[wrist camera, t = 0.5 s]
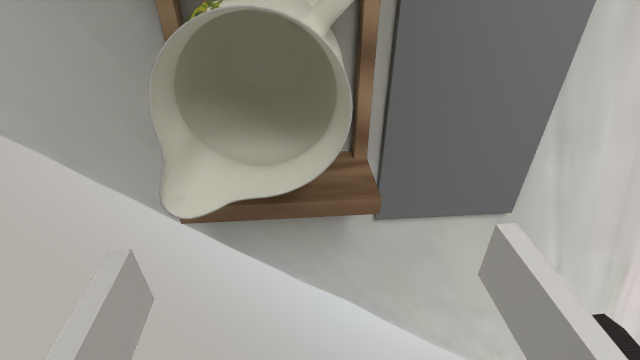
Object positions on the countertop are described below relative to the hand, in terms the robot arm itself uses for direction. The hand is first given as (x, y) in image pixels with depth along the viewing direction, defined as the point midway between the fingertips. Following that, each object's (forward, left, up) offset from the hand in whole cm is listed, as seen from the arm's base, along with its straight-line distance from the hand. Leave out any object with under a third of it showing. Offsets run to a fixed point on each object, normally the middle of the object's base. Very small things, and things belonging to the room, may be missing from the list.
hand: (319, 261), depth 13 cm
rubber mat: (+4, +16, -21) cm, 27 cm away
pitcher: (-3, -2, -21) cm, 22 cm away
